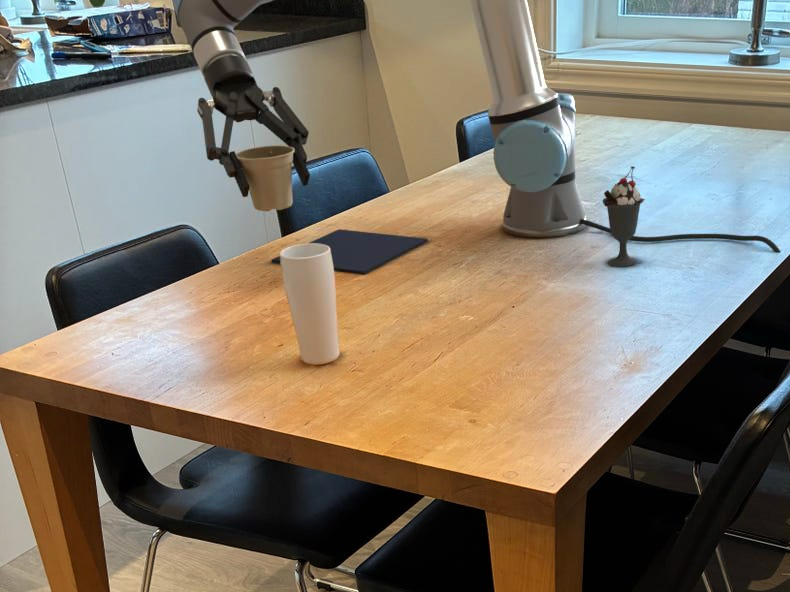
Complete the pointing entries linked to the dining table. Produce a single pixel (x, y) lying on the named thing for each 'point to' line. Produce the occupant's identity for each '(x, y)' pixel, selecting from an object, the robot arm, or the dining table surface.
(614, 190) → the sundae
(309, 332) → the white vase
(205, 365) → the dining table surface
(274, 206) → the flower pot
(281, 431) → the dining table surface
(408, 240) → the placemat
